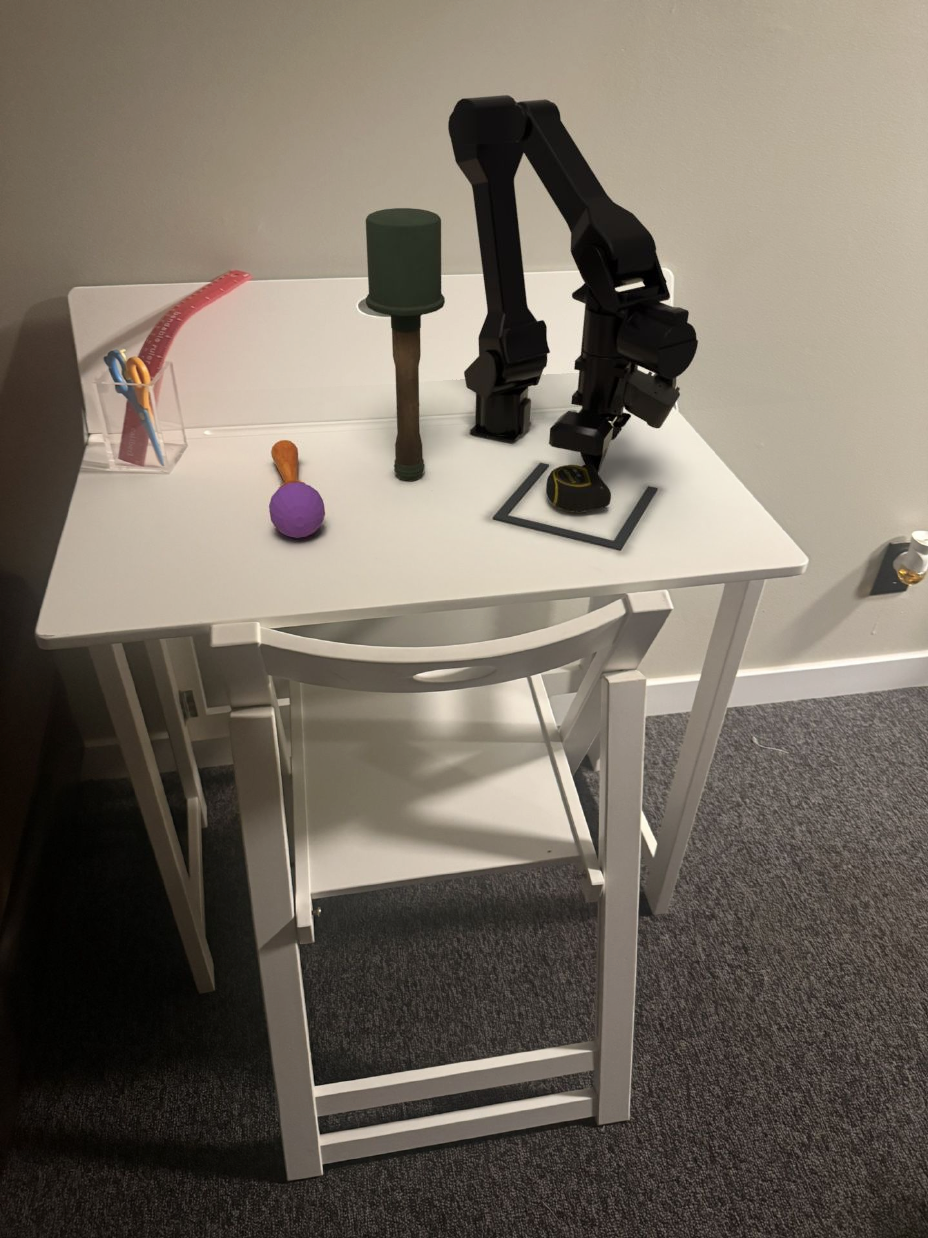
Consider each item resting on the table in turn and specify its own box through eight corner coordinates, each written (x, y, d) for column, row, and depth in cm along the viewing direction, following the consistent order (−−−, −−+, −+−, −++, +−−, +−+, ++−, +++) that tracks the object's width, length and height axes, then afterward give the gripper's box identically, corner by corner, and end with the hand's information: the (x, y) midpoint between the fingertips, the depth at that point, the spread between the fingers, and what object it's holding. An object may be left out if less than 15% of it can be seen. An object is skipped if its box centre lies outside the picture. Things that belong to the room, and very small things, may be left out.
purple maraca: (311, 431, 112) (330, 497, 95) (306, 476, 114) (324, 548, 98) (261, 427, 110) (273, 493, 93) (258, 473, 113) (269, 545, 96)
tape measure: (610, 516, 104) (614, 487, 102) (553, 520, 103) (555, 491, 101) (593, 487, 109) (597, 459, 107) (539, 491, 108) (541, 463, 106)
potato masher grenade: (447, 461, 114) (448, 207, 96) (439, 494, 107) (439, 227, 89) (381, 457, 115) (370, 204, 97) (369, 490, 108) (354, 224, 90)
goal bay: (492, 519, 103) (492, 517, 103) (540, 464, 114) (540, 462, 114) (620, 550, 98) (621, 548, 98) (657, 490, 109) (657, 487, 109)
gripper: (656, 392, 91) (637, 525, 100) (698, 333, 104) (677, 455, 114) (552, 373, 94) (543, 503, 104) (605, 318, 108) (592, 438, 117)
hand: (593, 474), depth 109 cm, fingers closed
